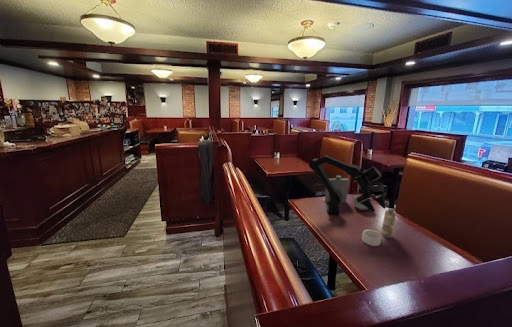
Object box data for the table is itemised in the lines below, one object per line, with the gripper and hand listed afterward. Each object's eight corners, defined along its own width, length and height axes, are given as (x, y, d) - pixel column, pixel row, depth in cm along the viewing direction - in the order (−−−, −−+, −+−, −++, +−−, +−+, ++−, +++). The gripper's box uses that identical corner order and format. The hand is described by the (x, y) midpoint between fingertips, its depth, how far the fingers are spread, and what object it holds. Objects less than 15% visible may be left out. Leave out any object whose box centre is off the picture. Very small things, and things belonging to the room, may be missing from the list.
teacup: (362, 213, 147) (364, 201, 145) (349, 206, 157) (350, 195, 155) (376, 208, 154) (378, 198, 152) (362, 202, 163) (364, 192, 161)
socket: (364, 244, 114) (365, 237, 113) (360, 235, 122) (361, 228, 121) (382, 246, 112) (383, 239, 111) (376, 237, 120) (378, 230, 119)
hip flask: (344, 200, 166) (348, 174, 161) (347, 202, 162) (350, 176, 157) (324, 201, 165) (326, 175, 160) (326, 203, 161) (328, 177, 156)
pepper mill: (383, 237, 120) (387, 210, 116) (379, 232, 125) (384, 206, 121) (393, 238, 119) (398, 211, 115) (389, 233, 124) (394, 207, 120)
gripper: (363, 181, 120) (380, 208, 114) (385, 176, 129) (401, 201, 122) (350, 189, 129) (364, 215, 122) (371, 185, 138) (385, 208, 131)
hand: (379, 210), depth 124 cm, fingers open, 9 cm apart
